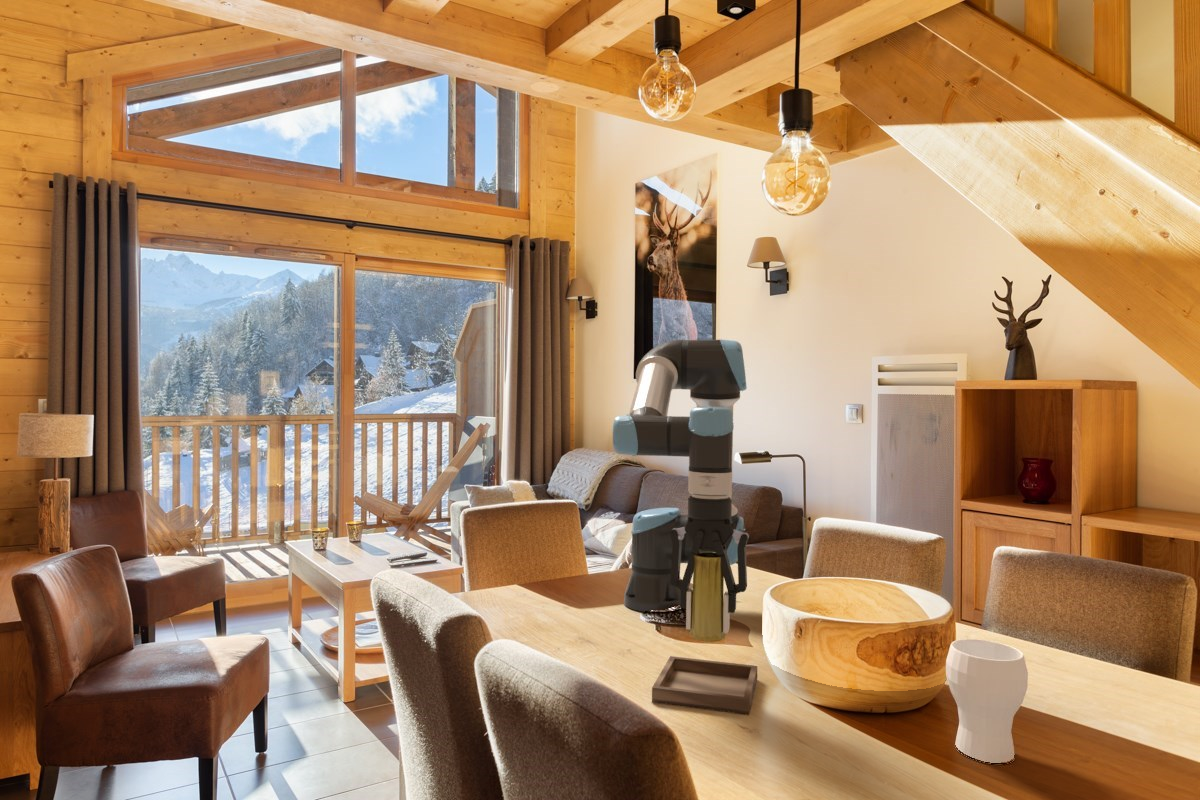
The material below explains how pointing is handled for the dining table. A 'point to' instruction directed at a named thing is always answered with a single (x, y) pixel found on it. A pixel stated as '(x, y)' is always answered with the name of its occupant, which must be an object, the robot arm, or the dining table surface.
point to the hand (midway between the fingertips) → (707, 628)
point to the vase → (707, 598)
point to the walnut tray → (706, 685)
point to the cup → (986, 696)
